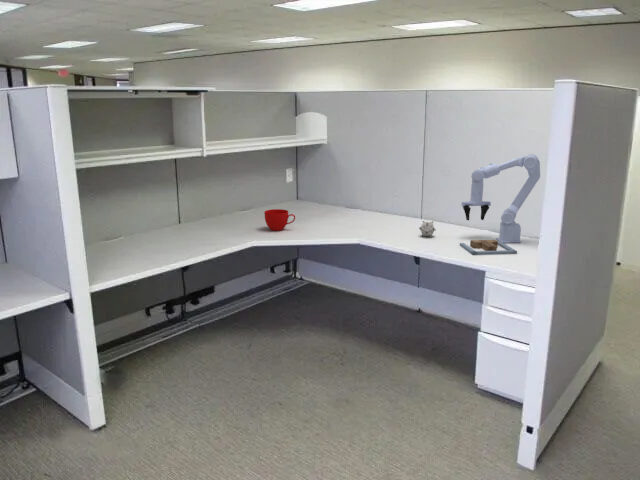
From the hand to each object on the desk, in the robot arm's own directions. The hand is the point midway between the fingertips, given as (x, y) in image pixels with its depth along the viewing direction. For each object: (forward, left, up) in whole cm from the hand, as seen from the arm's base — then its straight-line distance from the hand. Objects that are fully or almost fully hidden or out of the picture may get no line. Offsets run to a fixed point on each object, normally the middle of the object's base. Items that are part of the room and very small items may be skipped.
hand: (474, 219), depth 276 cm
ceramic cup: (+98, -28, -10) cm, 102 cm away
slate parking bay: (+2, +23, -9) cm, 24 cm away
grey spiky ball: (+23, -5, -10) cm, 25 cm away
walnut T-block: (+2, +22, -10) cm, 24 cm away
